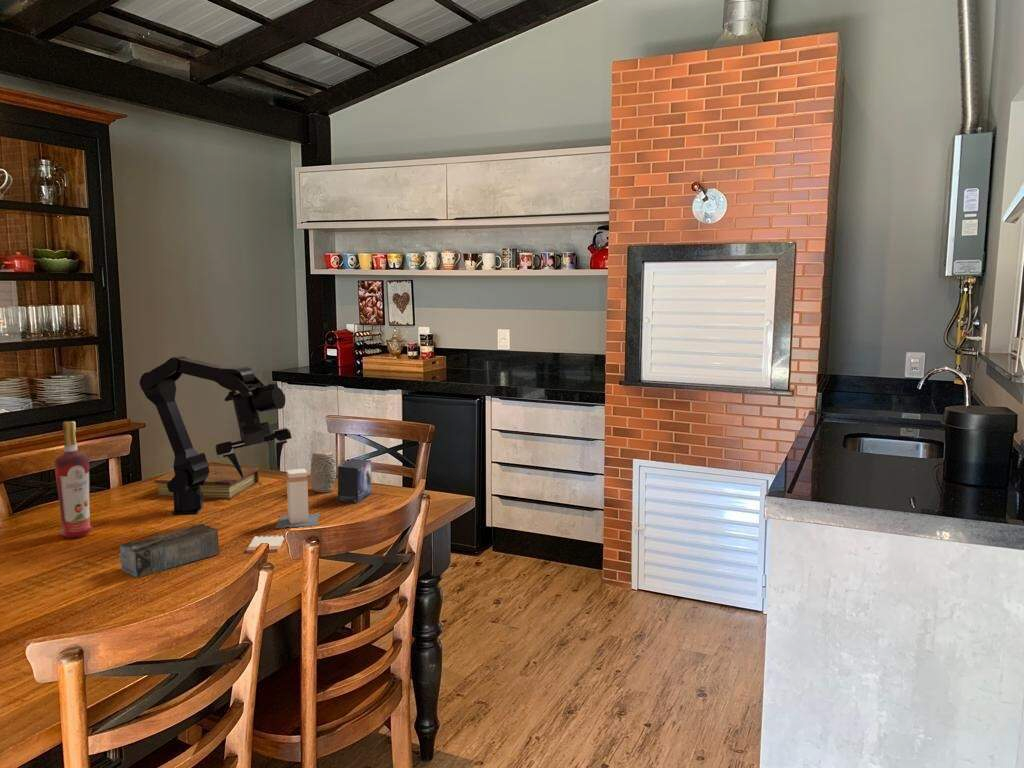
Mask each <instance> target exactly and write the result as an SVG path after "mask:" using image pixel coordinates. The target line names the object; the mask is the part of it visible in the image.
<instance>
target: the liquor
mask: <svg viewBox="0 0 1024 768" xmlns="http://www.w3.org/2000/svg"><path fill="white" fill-rule="evenodd" d="M76 427H77V425H76V421H74V420H73V421H63V422H62V430H63V435H64V439H63V440H64V443H63V454H62V455H60V456H58V457H57V458H56V459H54V461H53V463H54V464H53V465H54V473H55V481H56V483H55V484H56V488H57V495H58V502H59V511H60V519H61V529H60V531H59V532H60V534H61V535H62V536H64V537H65V538H67V539H79V538H82V537H86V536H87V535H88V534H89V533H90V532H91V531H92V530H93V526H92V525H91V517H90V516H91V514H90V513H91V511H90V458H89V456H87V455H85V454H83V453H79V448H78V443H77V438H76V431H77V430H76V429H77V428H76Z"/></svg>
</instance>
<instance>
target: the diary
mask: <svg viewBox="0 0 1024 768" xmlns="http://www.w3.org/2000/svg"><path fill="white" fill-rule="evenodd" d="M240 468H241V470H242V474H243V478H242V477H241V476H240V474H239V472H238V471H237V469H236V467H235V466H217V465H216V466H213V465H210V466H209V474H208V477H207V478H206V480H205V483H204V485H203V486H200V489H201V492H202V493H203V500H224V499H232V498H233V499H235V498H236V497H235V496H237V495H238V496H240V495H241V494H240V493H242V492H243V493H245V492H247V491H248V490H247V489H249V488H250V487H252V486H254V485H255V486H257V485H258V484H257V483H259V484H260V470H259V467H253V466H252V467H249V466H240ZM174 476H175V473H174V470H173V471H171V472H169V473H167V474H164V475H162V476H160V477H158V478H156V479H153V480H154V481H153V482H154V484H157V490H158V493H157V494H155V495H154V496H155V498H173V499H174V497H173V492H169V490H168V487H167V484H168V483H169V482H170V481H171V479H172V478H173V477H174ZM256 484H257V485H256ZM255 486H254V487H255ZM252 488H253V487H252ZM250 489H251V488H250ZM250 489H249V490H250ZM246 490H247V491H246ZM244 491H245V492H244ZM243 493H242V494H243ZM239 494H240V495H239ZM238 496H237V497H238ZM234 497H235V498H234ZM233 499H232V500H233Z"/></svg>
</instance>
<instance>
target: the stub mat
mask: <svg viewBox="0 0 1024 768" xmlns="http://www.w3.org/2000/svg"><path fill="white" fill-rule="evenodd" d="M308 516H309V522H301V523H292V524H291V523H290V521H289V519H288V514H281V516H280V518H279V520H278V522H276V525H275V526H274V529H287V528H286V527H289V528H288V529H294V528H293V527H302V528H305V527H304V526H316V525H318V522H319V520H320V518H321V513H308ZM319 517H320V518H319ZM318 519H319V520H318ZM293 525H295V526H293ZM316 527H317V526H316Z"/></svg>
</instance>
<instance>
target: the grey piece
mask: <svg viewBox="0 0 1024 768" xmlns="http://www.w3.org/2000/svg"><path fill="white" fill-rule="evenodd" d="M218 532H219V531H218V528H213V527H211V526H210V525H205V524H203V523H198V524H196V525H195V524H193V525H191V526H187V527H184V528H180V529H177V530H173V531H168V532H166V533H162V534H158V535H154V536H150V537H146V538H142V539H139V540H134V541H131V542H126V543H122V544H120V545H119V553H120V565H121V571H122V570H123V572H125V573H127V574H128V573H129V575H130V574H131V575H130V576H131V577H134V578H136V579H138V577H139V578H142V577H141V576H143V577H146V576H148V575H147V574H150V575H152V574H151V573H153V574H155V573H154V572H157V571H160V572H162V571H161V570H164V569H167V570H170V569H169V568H171V569H173V568H172V567H174V568H177V567H181V566H183V564H184V565H187V564H190V562H191V563H193V561H194V562H196V561H197V562H198V561H201V560H204V559H207V557H208V558H210V557H214V555H215V556H218V555H220V547H219V546H220V545H219V533H218ZM186 563H187V564H186ZM180 565H181V566H180ZM176 566H177V567H176ZM164 571H165V570H164ZM157 573H158V572H157ZM145 575H146V576H145Z"/></svg>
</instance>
